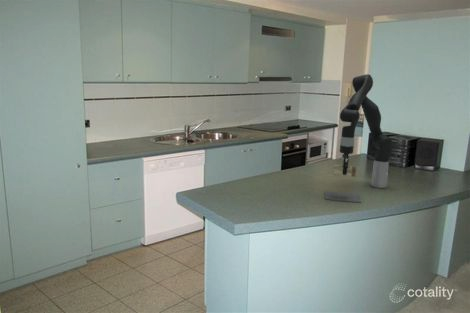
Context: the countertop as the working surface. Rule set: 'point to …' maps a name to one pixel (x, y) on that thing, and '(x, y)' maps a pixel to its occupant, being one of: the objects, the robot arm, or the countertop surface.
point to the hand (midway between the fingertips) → (344, 173)
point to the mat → (342, 197)
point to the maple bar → (339, 170)
